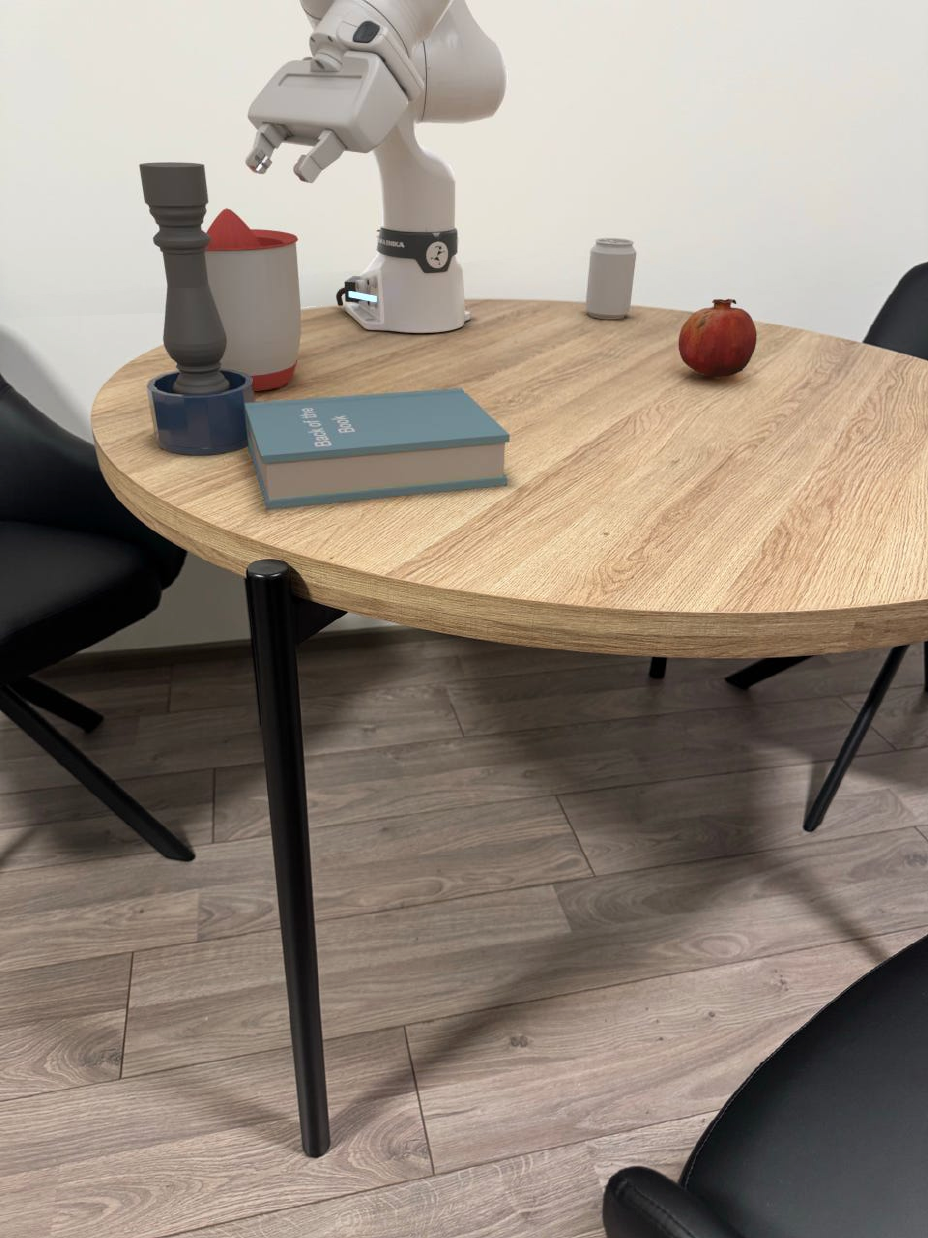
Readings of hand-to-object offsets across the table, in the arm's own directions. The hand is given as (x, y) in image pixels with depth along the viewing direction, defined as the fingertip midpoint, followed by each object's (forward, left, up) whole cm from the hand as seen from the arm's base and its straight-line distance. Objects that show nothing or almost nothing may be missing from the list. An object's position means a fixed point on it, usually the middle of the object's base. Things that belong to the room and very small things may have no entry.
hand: (276, 173), depth 86 cm
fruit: (+9, +56, -25) cm, 62 cm away
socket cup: (+2, -11, -25) cm, 27 cm away
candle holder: (+2, -11, -24) cm, 26 cm away
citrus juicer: (-17, 0, -25) cm, 30 cm away
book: (+17, +1, -25) cm, 30 cm away
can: (-27, +67, -25) cm, 76 cm away
